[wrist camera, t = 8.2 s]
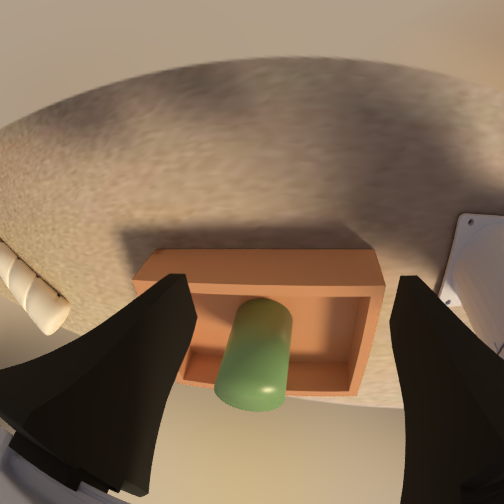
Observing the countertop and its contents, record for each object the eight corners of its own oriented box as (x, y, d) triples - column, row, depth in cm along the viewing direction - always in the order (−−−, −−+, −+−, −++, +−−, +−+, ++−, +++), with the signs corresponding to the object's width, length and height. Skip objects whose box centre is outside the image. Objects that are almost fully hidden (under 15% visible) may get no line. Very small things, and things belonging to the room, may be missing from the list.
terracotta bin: (374, 249, 19) (385, 285, 16) (354, 360, 25) (356, 395, 22) (155, 249, 22) (131, 279, 19) (190, 351, 28) (177, 383, 25)
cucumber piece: (291, 298, 21) (283, 377, 16) (293, 339, 24) (285, 413, 18) (231, 297, 22) (206, 372, 16) (240, 337, 25) (221, 408, 19)
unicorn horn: (-36, 176, 23) (-62, 192, 19) (76, 300, 29) (53, 329, 25) (-37, 200, 25) (-60, 217, 21) (68, 317, 31) (48, 343, 27)
